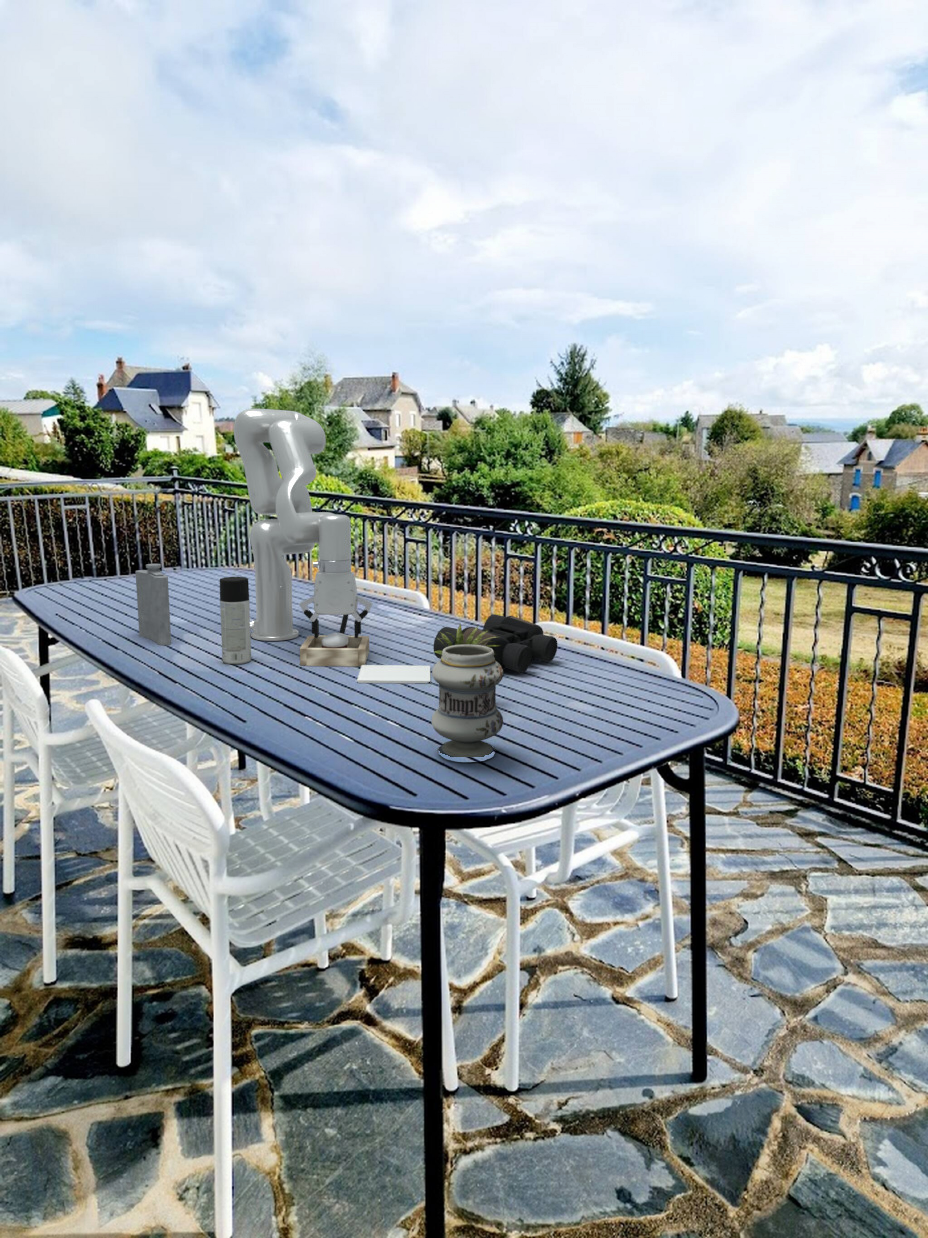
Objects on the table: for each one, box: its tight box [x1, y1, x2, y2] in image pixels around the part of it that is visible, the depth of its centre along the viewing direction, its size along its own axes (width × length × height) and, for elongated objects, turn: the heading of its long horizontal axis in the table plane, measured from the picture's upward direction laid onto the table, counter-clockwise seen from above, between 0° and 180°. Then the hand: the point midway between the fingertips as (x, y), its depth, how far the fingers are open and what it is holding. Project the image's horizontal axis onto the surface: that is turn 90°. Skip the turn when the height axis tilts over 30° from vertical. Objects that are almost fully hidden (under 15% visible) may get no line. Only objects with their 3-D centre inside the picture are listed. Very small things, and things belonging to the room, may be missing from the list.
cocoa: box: [322, 615, 349, 648], centre depth 194 cm, size 10×6×12 cm, turn 125°
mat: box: [356, 664, 431, 684], centre depth 181 cm, size 16×13×1 cm
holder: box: [299, 634, 370, 667], centre depth 195 cm, size 15×15×4 cm
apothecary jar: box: [430, 644, 504, 757], centre depth 133 cm, size 12×12×18 cm
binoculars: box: [433, 613, 558, 673], centre depth 194 cm, size 29×20×10 cm
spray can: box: [219, 576, 252, 665], centre depth 188 cm, size 7×7×20 cm
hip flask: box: [135, 563, 172, 646], centre depth 208 cm, size 16×4×20 cm, turn 42°
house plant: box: [433, 623, 500, 655], centre depth 160 cm, size 14×14×16 cm
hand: (336, 636), depth 194 cm, fingers open, 9 cm apart
